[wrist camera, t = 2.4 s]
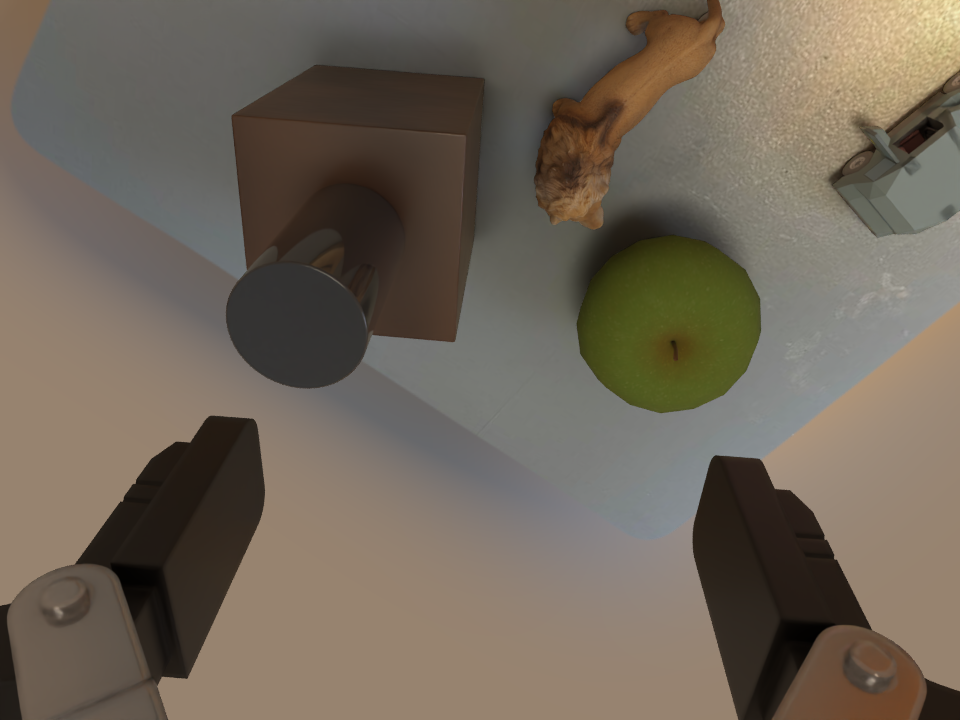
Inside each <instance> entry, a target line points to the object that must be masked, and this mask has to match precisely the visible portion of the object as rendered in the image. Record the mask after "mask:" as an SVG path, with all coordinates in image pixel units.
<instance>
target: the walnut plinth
mask: <svg viewBox="0 0 960 720" xmlns="http://www.w3.org/2000/svg"><path fill="white" fill-rule="evenodd" d="M484 81H485V80H484V79H483V78H471V77H459V76H446V75H434V74H422V73H409V72H397V71H385V70H372V69H360V68H348V67H335V66H323V65H315V66H313V67H311V68H310V69H308V70H306V71H305V72H303V73H301V74H300V75H298V76H296V77H295V78H293V79H291V80H289V81H288V82H286V83H284V84H283V85H281V86H279V87H278V88H276V89H274V90H273V91H271V92H269V93H268V94H266V95H264V96H263V97H261V98H259V99H258V100H256V101H254V102H253V103H251V104H249V105H248V106H246V107H244V108H243V109H241V110H239V111H238V112H236V113H234V114H233V115H232V126H233V136H234V146H235V156H236V166H237V176H238V186H239V196H240V206H241V216H242V226H243V236H244V246H245V256H246V266H247V270H248V269H249V268H250V266H251V265H252V264H253V263H254V262H255V260H256V259H257V258H258V257H259V256H260V255H261V253H262V252H263V251H264V250H265V249H266V247H267V246H268V245H269V244H270V243H271V242H272V240H273V239H274V238H275V237H276V236H277V234H278V233H279V232H280V231H281V230H282V229H283V227H284V226H285V225H286V224H287V223H288V221H289V220H290V219H291V218H292V217H293V216H294V214H295V213H296V212H297V211H298V210H299V208H300V207H301V206H302V205H303V204H304V203H305V201H306V200H307V199H308V198H309V197H310V196H311V195H312V194H314V193H315V192H316V191H318V190H320V189H322V188H324V187H326V186H330V185H334V184H341V183H348V184H356V185H360V186H364V187H366V188H369V189H371V190H373V191H375V192H376V193H378V194H379V195H381V196H382V197H383V198H385V199H386V200H387V201H388V202H389V203H390V204H391V206H392V207H393V208H394V209H395V211H396V212H397V214H398V215H399V218H400V220H401V222H402V225H403V228H404V232H405V251H404V255H403V258H402V260H401V263H400V266H399V268H398V271H397V273H396V276H395V278H394V281H393V283H392V286H391V288H390V291H389V293H388V296H387V298H386V301H385V303H384V306H383V309H382V311H381V314H380V316H379V319H378V321H377V324H376V326H375V329H374V331H373V334H372V335H379V336H390V337H402V338H413V339H425V340H436V341H448V342H455V340H456V334H457V329H458V323H459V318H460V313H461V307H462V302H463V296H464V291H465V285H466V280H467V275H468V269H469V264H470V258H471V253H472V247H473V242H474V231H475V216H476V201H477V186H478V171H479V156H480V141H481V126H482V111H483V96H484Z"/></svg>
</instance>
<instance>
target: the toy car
mask: <svg viewBox="0 0 960 720" xmlns="http://www.w3.org/2000/svg"><path fill="white" fill-rule="evenodd" d="M943 91H944V93H945V94H943V93H940V92H938V93H937V94H936V95H934V96H933V97H932V98H931V99H930V100H928V101H927V102H926V103H925V104H923V105H922V106H921V107H920V108H918V109H917V110H916V111H915V112H913V113H912V114H911V115H910V116H909V117H907V118H906V119H905V120H904V121H902V122H901V123H900V124H899V125H897V126H896V127H895V128H894V129H892V130H891V131H890V132H889V133H888V134H886V132H885V131H884V130H883V129H882V128H880V127H878V126H870V127H860V128H861V130H862V131H863V132H864V133H865V135H866V136H867V137H868V138H869V140H870V141H871V142H872V143H873V145H874V146H875V147H876V150H875V152H874V153H873V152H871V151H866V152H863V153H860V154H858V155H856V156H855V157H854V158H852V159H851V160H850V161H849V162H848V163H847V164H846V165H845V167H844V168H843V171H842V173H843V175H844V177H842V178H841V179H839V180H838V181H837V182H836V183H834V184H833V185H832V186H833V187H834V188H835V189H836V191H837V192H838V193H839V194H840V195H841V197H842V198H843V199H844V200H846V202H847V204H848V205H849V206H850V207H851V208H852V210H853V211H854V212H855V213H856V214H857V216H858V217H859V218H860V219H861V220H862V221H863V223H864V224H865V225H866V226H867V227H868V229H869V230H870V231H871V232H872V233H873V234H874V235H875V236H876V237H877V238H879V237H883V236H887V235H891V234H917V233H920V232H922V231H924V230H926V229H929V228H931V227H933V226H936V225H938V224H940V223H942V222H945V221H946V220H948V219H949V218H950V217H952V216H953V215H955V214H956V213H957V212H959V211H960V72H959V73H957V74H956V75H954V76H953V77H952V78H951V79H950V80H949V81H948V82H947V83H946V84H945V86H944V88H943ZM922 134H923V135H922Z"/></svg>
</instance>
